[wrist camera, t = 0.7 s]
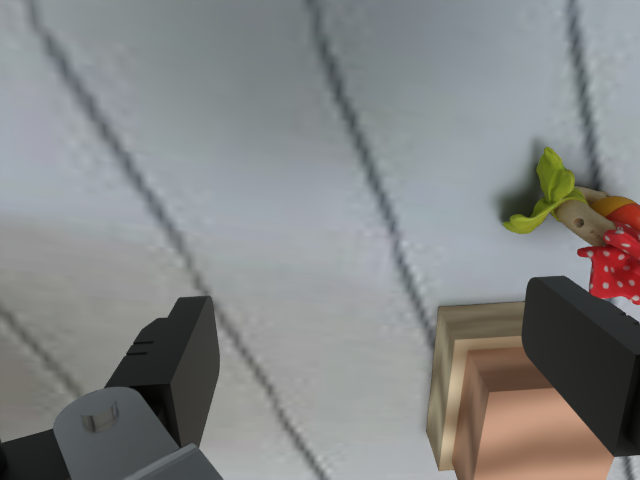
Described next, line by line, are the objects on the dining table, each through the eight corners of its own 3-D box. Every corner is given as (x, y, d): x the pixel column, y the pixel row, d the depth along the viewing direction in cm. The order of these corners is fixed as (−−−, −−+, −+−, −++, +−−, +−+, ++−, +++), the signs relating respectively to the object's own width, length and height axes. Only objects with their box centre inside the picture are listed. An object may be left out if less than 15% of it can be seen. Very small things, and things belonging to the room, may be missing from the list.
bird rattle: (595, 147, 32) (510, 138, 28) (785, 215, 24) (706, 217, 19) (557, 224, 35) (474, 227, 30) (715, 310, 26) (632, 331, 22)
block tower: (438, 307, 35) (475, 381, 28) (588, 297, 35) (663, 369, 28) (426, 431, 41) (453, 518, 34) (553, 422, 42) (607, 506, 34)
